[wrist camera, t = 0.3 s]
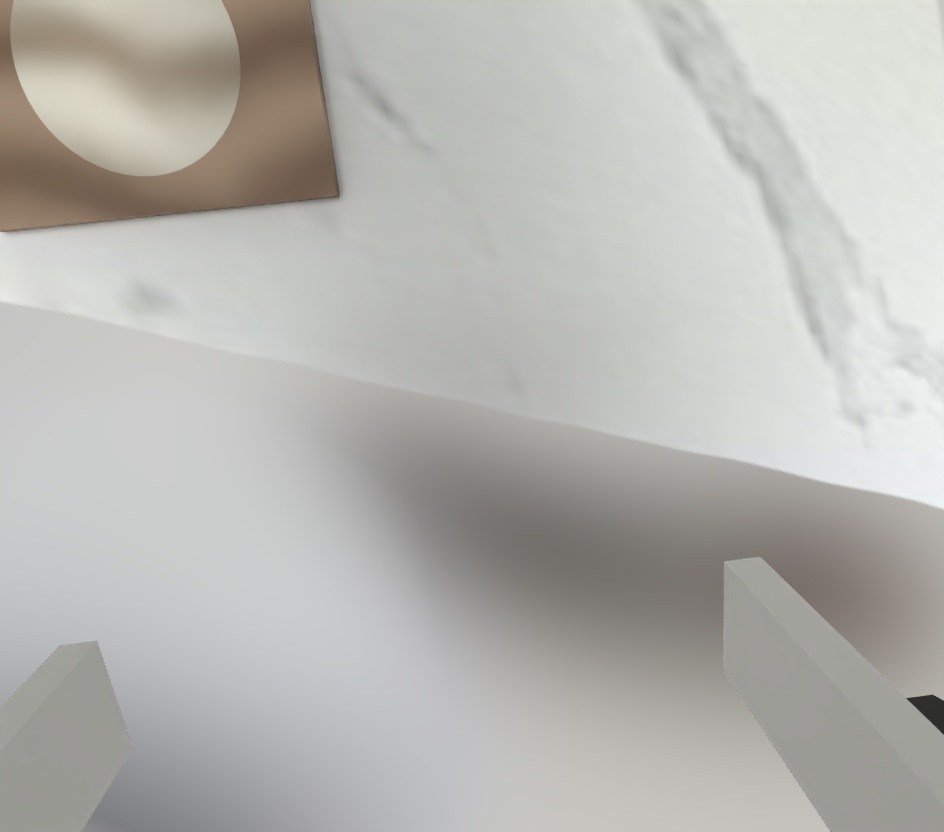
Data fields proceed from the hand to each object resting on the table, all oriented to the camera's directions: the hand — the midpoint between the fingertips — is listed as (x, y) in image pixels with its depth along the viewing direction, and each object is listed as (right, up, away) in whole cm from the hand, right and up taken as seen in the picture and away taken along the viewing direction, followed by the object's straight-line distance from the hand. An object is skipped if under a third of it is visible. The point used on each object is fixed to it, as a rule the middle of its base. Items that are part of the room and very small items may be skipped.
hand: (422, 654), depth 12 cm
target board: (-18, +25, +21) cm, 37 cm away
